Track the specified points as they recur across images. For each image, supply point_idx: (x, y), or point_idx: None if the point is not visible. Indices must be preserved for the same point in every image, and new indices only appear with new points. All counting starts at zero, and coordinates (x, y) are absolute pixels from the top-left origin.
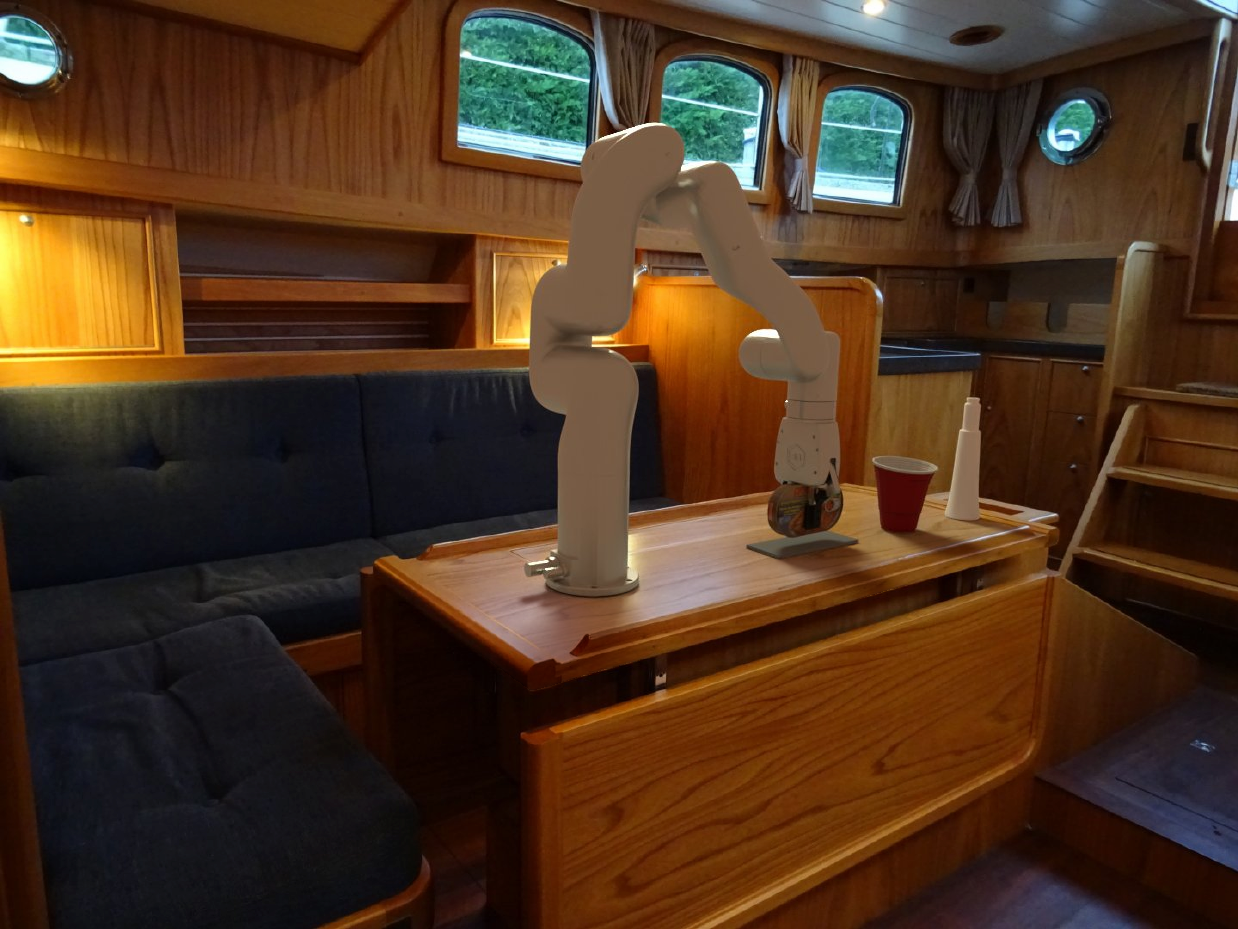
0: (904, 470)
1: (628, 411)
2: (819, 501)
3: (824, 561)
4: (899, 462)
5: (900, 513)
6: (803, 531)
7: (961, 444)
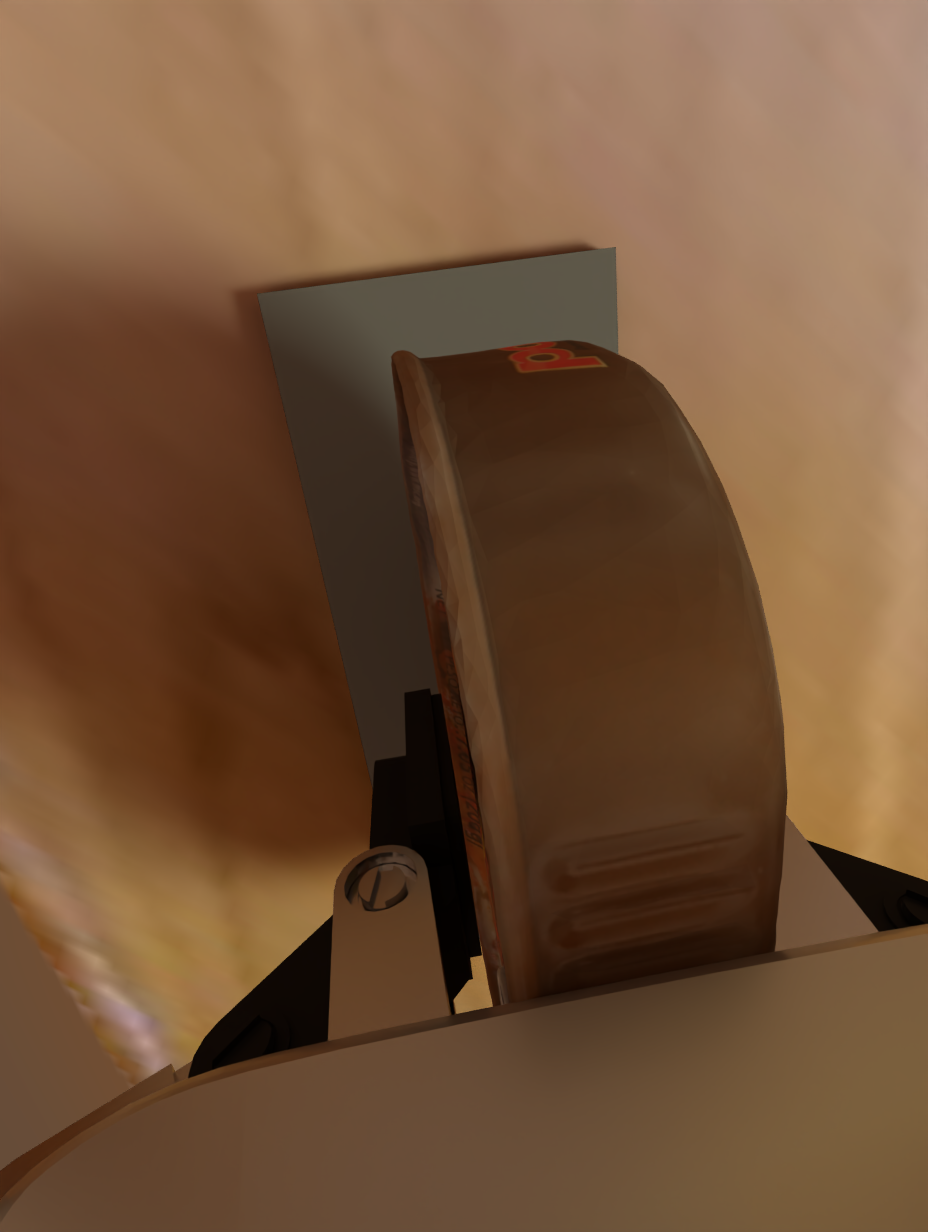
0: None
1: None
2: (313, 949)
3: (129, 580)
4: None
5: None
6: (457, 686)
7: None
